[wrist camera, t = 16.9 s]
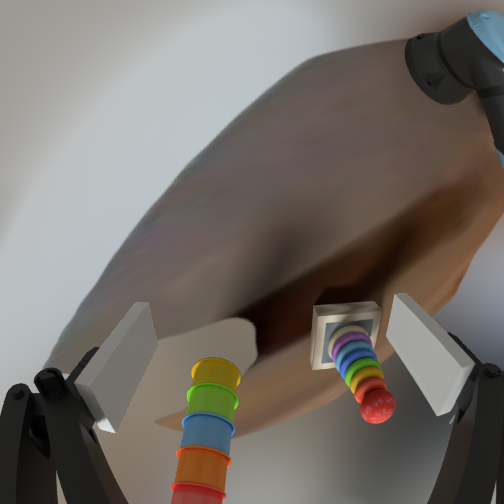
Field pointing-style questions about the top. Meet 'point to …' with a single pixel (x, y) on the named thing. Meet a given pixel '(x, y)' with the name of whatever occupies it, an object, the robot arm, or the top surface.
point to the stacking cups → (207, 433)
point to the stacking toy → (361, 372)
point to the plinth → (335, 318)
